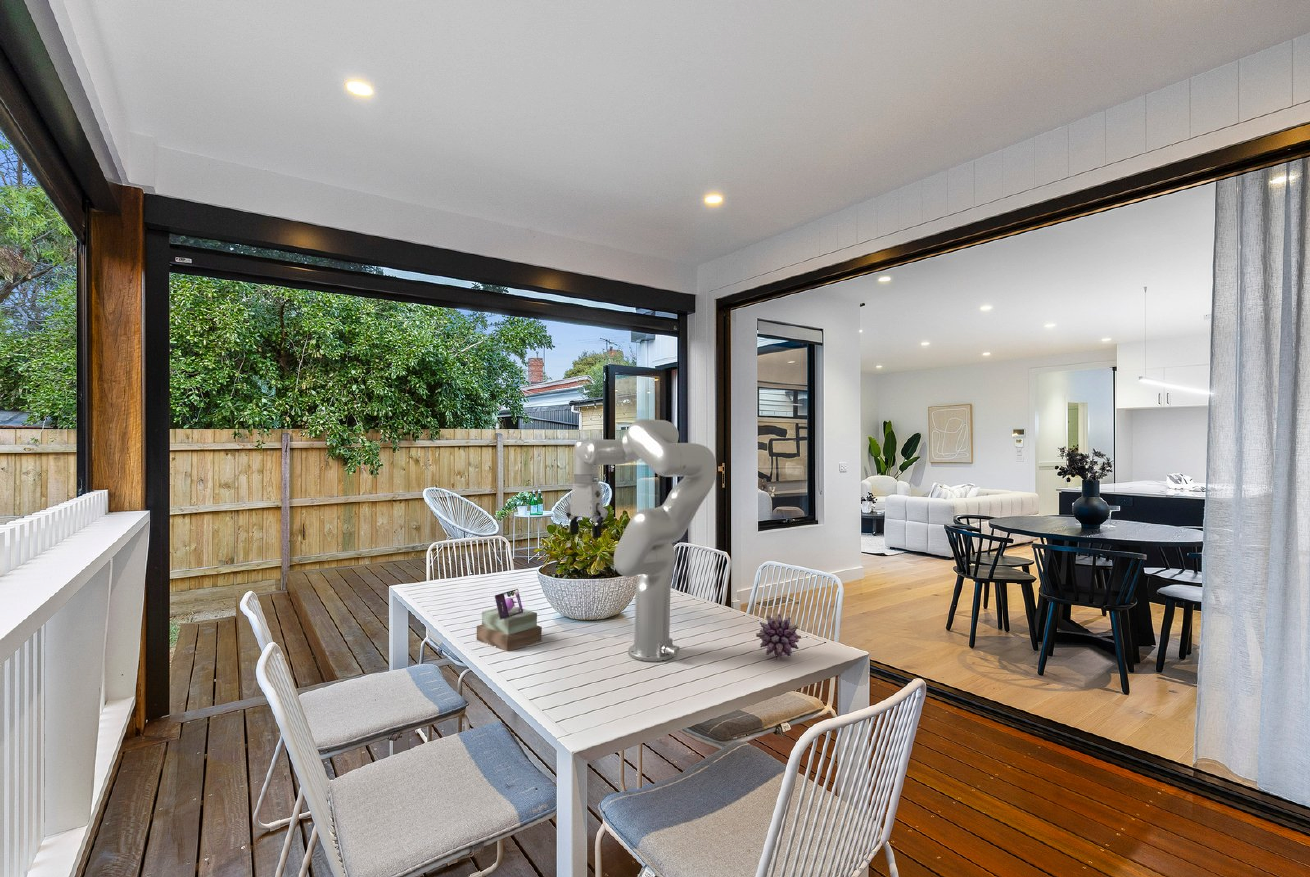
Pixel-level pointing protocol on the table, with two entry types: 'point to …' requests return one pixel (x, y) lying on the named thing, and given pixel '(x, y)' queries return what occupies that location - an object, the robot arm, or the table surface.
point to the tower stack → (509, 629)
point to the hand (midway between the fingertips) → (585, 536)
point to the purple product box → (507, 603)
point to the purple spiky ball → (778, 636)
